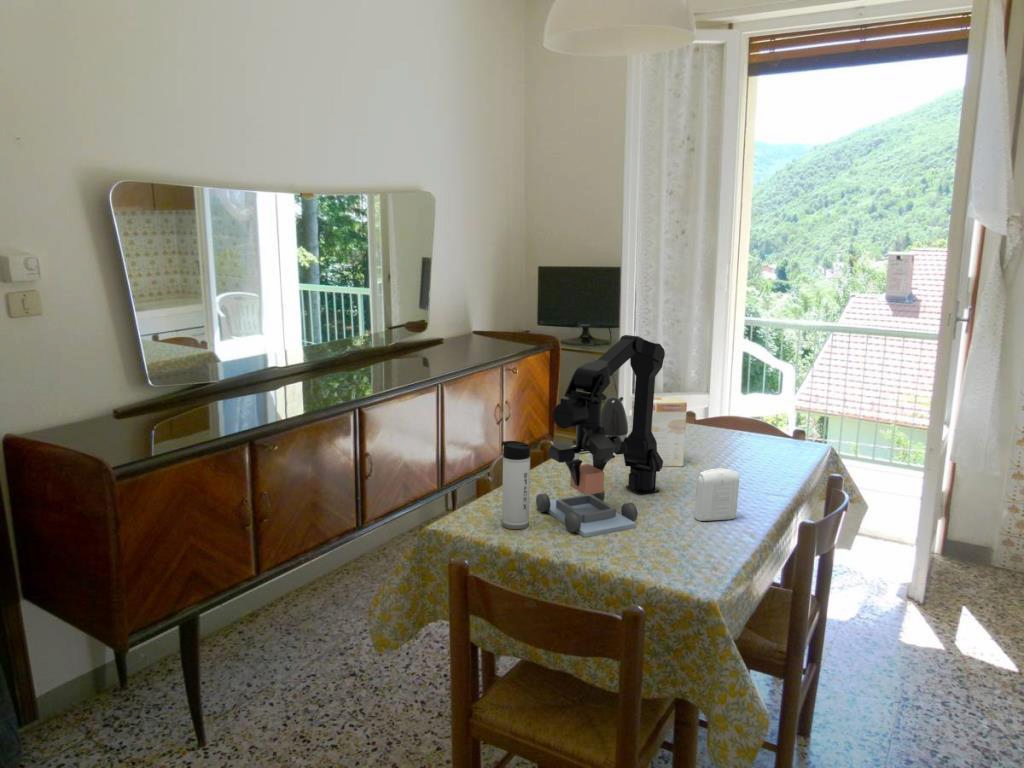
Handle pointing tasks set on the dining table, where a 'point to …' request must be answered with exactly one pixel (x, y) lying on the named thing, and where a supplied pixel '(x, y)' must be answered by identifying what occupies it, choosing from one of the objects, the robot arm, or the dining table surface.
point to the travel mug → (516, 485)
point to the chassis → (588, 513)
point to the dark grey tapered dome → (614, 418)
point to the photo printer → (716, 494)
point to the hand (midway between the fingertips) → (586, 484)
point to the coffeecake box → (668, 429)
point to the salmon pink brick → (589, 480)
